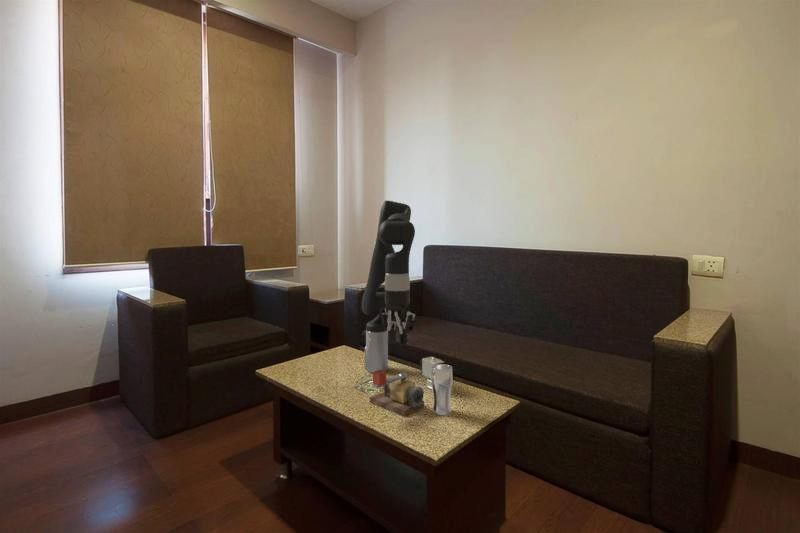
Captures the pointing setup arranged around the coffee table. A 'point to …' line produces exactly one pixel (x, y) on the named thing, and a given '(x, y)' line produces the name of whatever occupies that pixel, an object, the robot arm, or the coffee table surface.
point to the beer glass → (441, 388)
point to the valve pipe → (400, 397)
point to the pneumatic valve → (429, 367)
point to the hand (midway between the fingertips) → (397, 343)
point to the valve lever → (381, 380)
